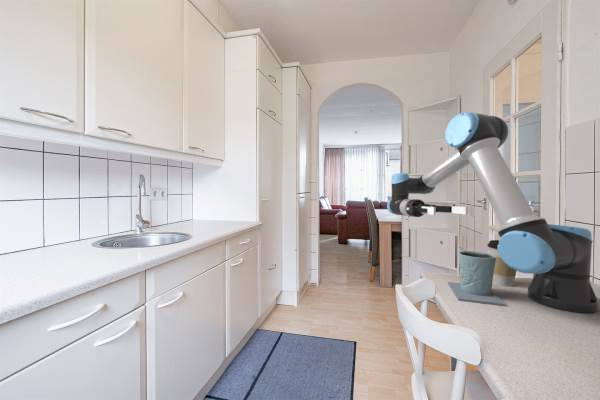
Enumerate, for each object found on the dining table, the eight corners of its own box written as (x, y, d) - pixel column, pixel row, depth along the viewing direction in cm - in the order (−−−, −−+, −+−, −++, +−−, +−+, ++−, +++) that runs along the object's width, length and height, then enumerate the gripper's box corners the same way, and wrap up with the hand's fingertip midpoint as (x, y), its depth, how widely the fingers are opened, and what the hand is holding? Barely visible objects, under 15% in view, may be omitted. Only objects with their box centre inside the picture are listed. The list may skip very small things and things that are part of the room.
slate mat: (486, 287, 93) (486, 285, 93) (505, 306, 78) (505, 303, 78) (447, 283, 97) (447, 281, 97) (458, 300, 82) (458, 298, 82)
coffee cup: (527, 286, 94) (528, 244, 94) (506, 289, 92) (507, 245, 91) (499, 278, 104) (500, 239, 103) (479, 280, 101) (480, 240, 100)
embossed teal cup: (451, 288, 90) (452, 253, 90) (467, 283, 95) (468, 249, 95) (485, 299, 82) (486, 259, 81) (500, 292, 87) (501, 255, 87)
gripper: (437, 216, 120) (479, 220, 99) (387, 216, 114) (420, 222, 94) (437, 199, 120) (479, 200, 99) (387, 199, 114) (420, 200, 94)
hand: (451, 210), depth 96 cm, fingers open, 13 cm apart
